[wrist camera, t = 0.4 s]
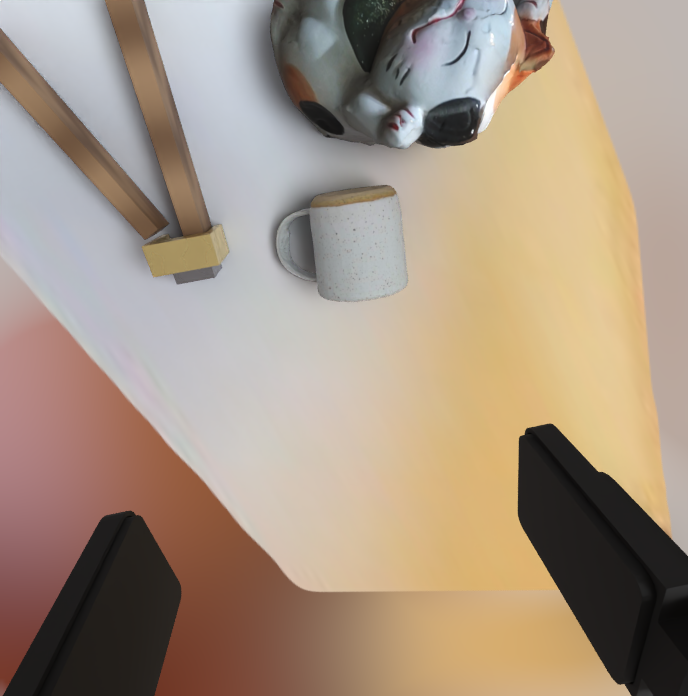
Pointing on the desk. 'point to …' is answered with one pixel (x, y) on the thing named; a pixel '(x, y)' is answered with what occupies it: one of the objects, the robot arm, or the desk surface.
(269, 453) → the desk surface
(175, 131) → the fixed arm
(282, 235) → the ceramic mug
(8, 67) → the bar
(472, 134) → the lucky cat figurine
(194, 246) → the collar
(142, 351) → the desk surface
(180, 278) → the block
